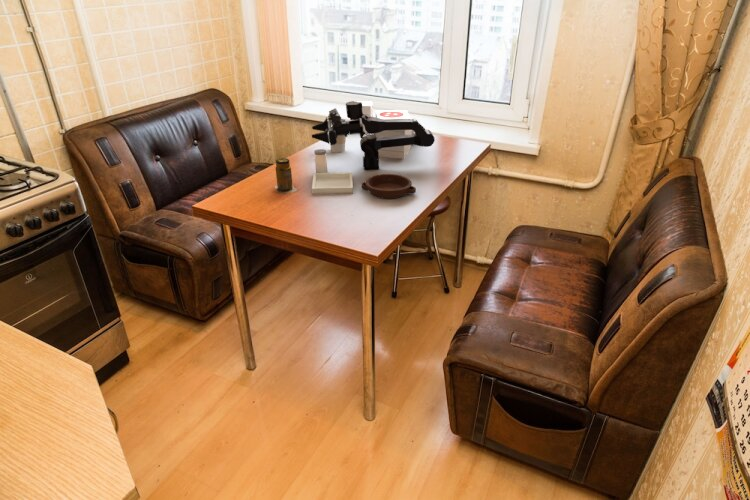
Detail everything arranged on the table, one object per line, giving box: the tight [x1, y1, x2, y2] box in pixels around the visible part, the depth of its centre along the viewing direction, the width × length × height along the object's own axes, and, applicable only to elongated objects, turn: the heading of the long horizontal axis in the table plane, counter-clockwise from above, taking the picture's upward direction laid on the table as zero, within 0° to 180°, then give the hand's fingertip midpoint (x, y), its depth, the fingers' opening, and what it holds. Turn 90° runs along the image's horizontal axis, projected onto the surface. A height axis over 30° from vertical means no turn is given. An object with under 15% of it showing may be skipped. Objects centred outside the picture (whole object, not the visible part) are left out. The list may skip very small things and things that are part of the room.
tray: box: [311, 172, 354, 195], centre depth 195 cm, size 16×16×2 cm
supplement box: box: [356, 100, 374, 134], centre depth 257 cm, size 9×9×15 cm
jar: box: [314, 148, 328, 173], centre depth 205 cm, size 5×5×10 cm
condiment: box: [273, 157, 298, 195], centre depth 190 cm, size 7×8×12 cm
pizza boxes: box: [374, 109, 415, 160], centre depth 232 cm, size 19×30×18 cm, turn 163°
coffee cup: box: [329, 135, 347, 154], centre depth 230 cm, size 9×9×15 cm
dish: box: [361, 173, 417, 200], centre depth 189 cm, size 18×22×5 cm
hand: (312, 131), depth 204 cm, fingers open, 9 cm apart
